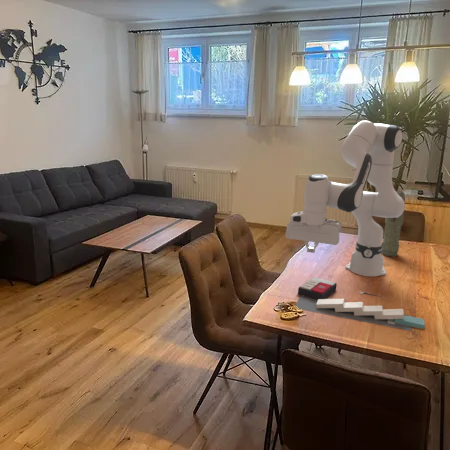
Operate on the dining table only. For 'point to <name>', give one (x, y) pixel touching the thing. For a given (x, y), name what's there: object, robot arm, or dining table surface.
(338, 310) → the domino
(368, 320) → the domino mat
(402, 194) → the thermos
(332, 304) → the domino
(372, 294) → the smartphone
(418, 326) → the domino
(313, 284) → the calculator
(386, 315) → the domino
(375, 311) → the domino
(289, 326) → the dining table surface
